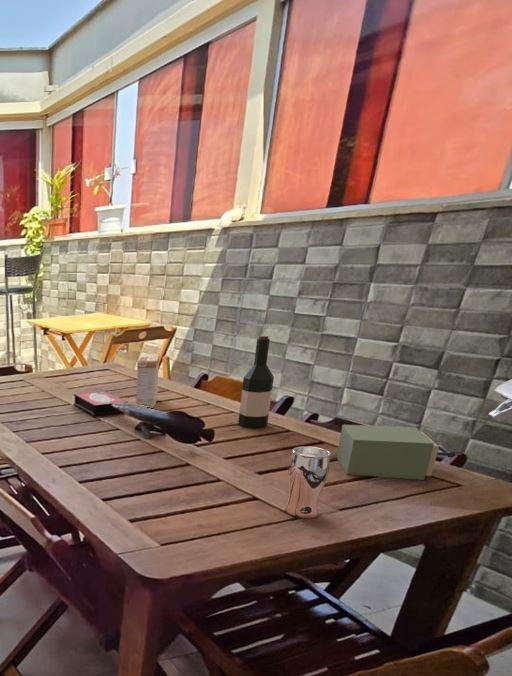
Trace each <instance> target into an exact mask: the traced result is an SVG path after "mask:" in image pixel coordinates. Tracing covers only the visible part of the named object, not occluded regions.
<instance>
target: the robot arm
mask: <svg viewBox="0 0 512 676" xmlns="http://www.w3.org/2000/svg"><path fill="white" fill-rule="evenodd" d="M493 391H494V393H495V394H497V395H498V396H499V397H500V398H502V399H503V400H504V401H502V402H501V403H500V404H499V405H498V406H497V407H496V408H495V409H493V410H492V411H490V412H488V416H489V417H490V418H491V419H492V420H494V421H496V422H498V423H500V422H503V421H505V420H507V419H509V418H512V378H511V379H509V380H507V381H505V382H503V383H501V384H499V385H497V387H495V388H494V390H493Z"/></svg>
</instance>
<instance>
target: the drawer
mask: <svg viewBox="0 0 512 676" xmlns="http://www.w3.org/2000/svg"><path fill="white" fill-rule="evenodd" d="M419 431H420V432H422V433H423V434H424V435H425V436H426V437H427V438H428V439H429V440H431V441H432V442H433V443H434V445H433V449H432V453H431V457H430V460H429V464H428V468H427V472H426V476H425V477H432V474H433V471H434V468H435V463H436V460H437V456H446V457H448V458H455V457H456V452H454V451H453V450H452V449H451V448H450V447H448V446H447V445H446V444H445V443H440V444H437V443H435V441H434V440H433V439H431V438H430V437H429V436H428V435H427V434H426V433H424V431H422V430H419ZM439 450H440V451H439Z"/></svg>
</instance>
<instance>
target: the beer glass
mask: <svg viewBox="0 0 512 676" xmlns="http://www.w3.org/2000/svg"><path fill="white" fill-rule="evenodd" d="M331 455H332V453H331V452H330V450H328V449H325V448H321V447H318V446H309V445H307V446H304V445H303V446H297V447H294V448H292V453H291V455H290V460H289V465H288V471H287V473H288V475H287V478H288V479H287V480H288V499H287V502H286V504H285V506H284V511H285V513H287V514H288V515H290V516H293V517H295V518H301V519H313V518H316V517H318V515H319V506H318V503H319V498H320V496H321V494H322V492H323V490H324V488H325V485H326V483H327V480H328V476H329V473H330V465H331Z"/></svg>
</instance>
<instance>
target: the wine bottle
mask: <svg viewBox="0 0 512 676" xmlns="http://www.w3.org/2000/svg"><path fill="white" fill-rule="evenodd" d="M270 340H271V339H270V338H269V335H259V336H258V338H257V339H256V345H255V353H254V362H253V365H252V367H251V368H250V369H249V370H248V371H247V373H246V374H245V375H244V376H243V381H242V387H241V388H242V389H241V397H240V405H239V412H238V413H239V414H238V423H237V425H238V426H239V425H240V427H242V428H244V427H245V428H244V429H250V430H251V429H252V430H257V429H265V428H266V427H267V426H268V422H269V415H270V407H271V400H272V393H273V385H274V378H275V376H274V375H273V373H272V371H271V370H270V368H269V366H268V365H267V363H268V355H269V348H270Z"/></svg>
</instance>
